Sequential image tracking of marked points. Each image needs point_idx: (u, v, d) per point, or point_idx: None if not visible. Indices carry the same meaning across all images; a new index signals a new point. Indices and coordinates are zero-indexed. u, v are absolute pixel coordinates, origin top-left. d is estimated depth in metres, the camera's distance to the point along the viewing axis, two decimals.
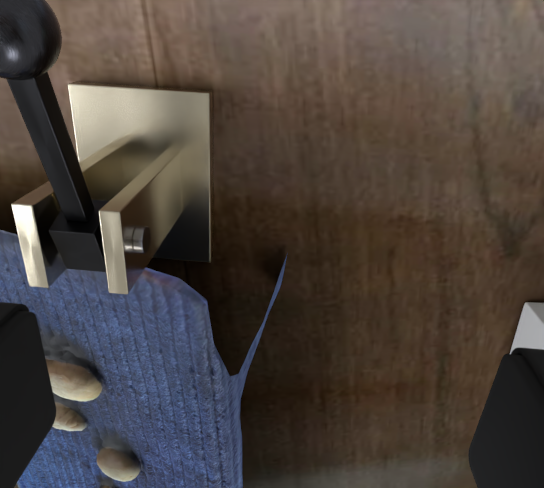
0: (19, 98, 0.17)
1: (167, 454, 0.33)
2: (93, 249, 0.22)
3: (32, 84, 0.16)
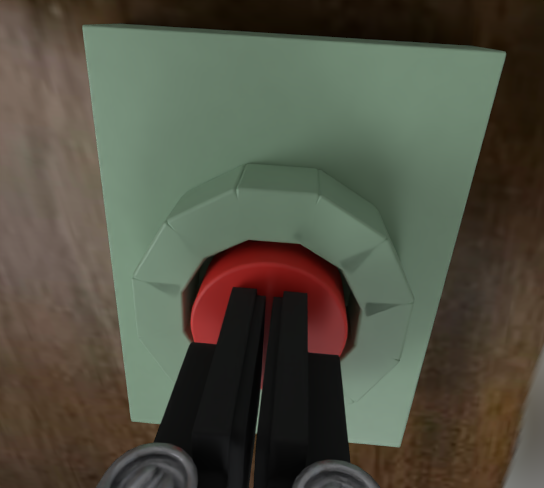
0: None
1: None
2: None
3: None
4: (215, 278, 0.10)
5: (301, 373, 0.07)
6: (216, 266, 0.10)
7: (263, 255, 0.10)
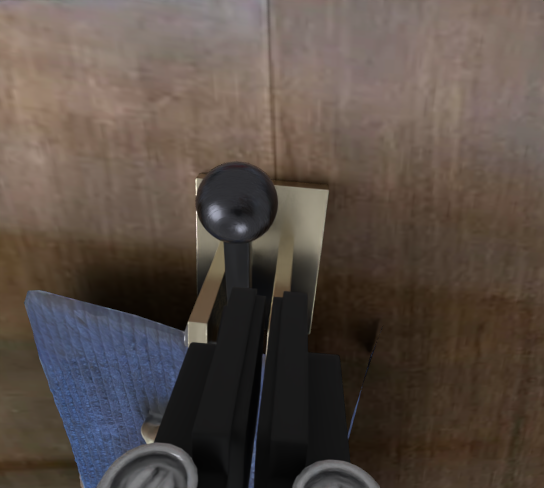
0: (228, 250, 0.19)
1: None
2: None
3: (245, 242, 0.18)
4: None
5: (301, 373, 0.07)
6: None
7: None
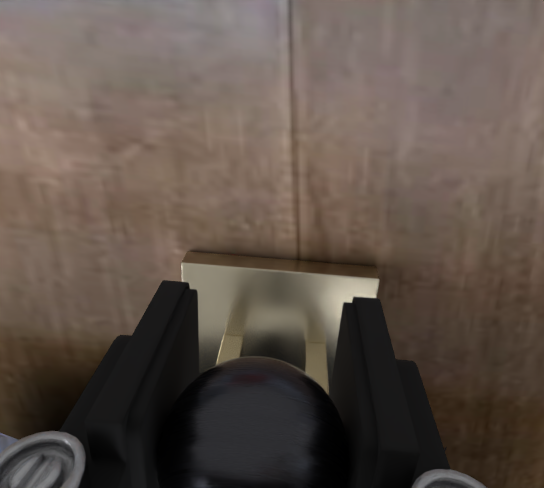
0: None
1: None
2: None
3: None
4: None
5: (395, 381, 0.07)
6: None
7: None
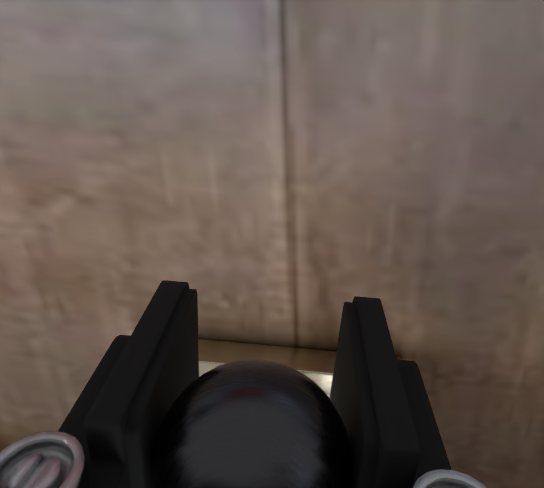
0: None
1: None
2: None
3: None
4: None
5: (396, 381, 0.07)
6: None
7: None
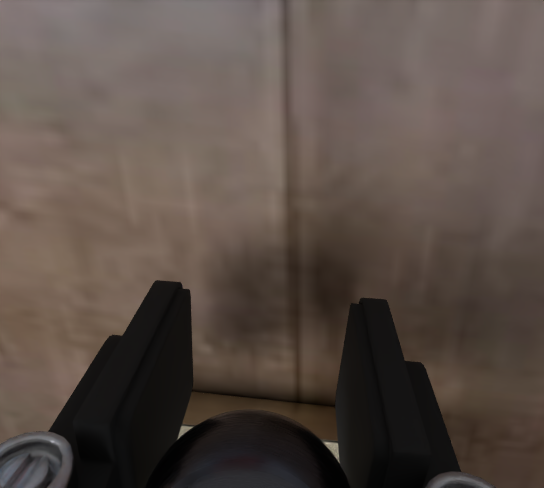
0: None
1: None
2: None
3: None
4: None
5: (405, 382, 0.07)
6: None
7: None
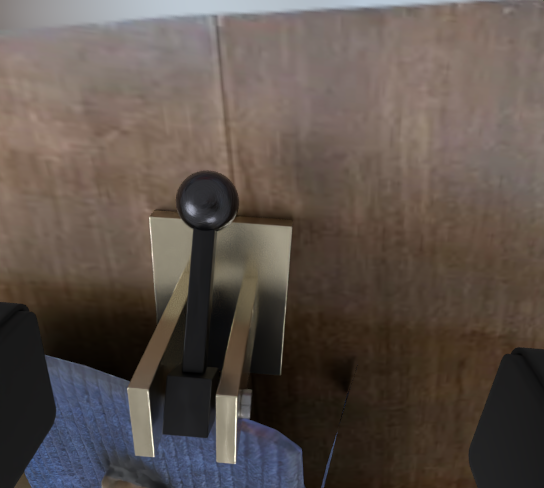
0: (195, 245, 0.22)
1: None
2: (204, 401, 0.21)
3: (210, 234, 0.22)
4: None
5: None
6: None
7: None
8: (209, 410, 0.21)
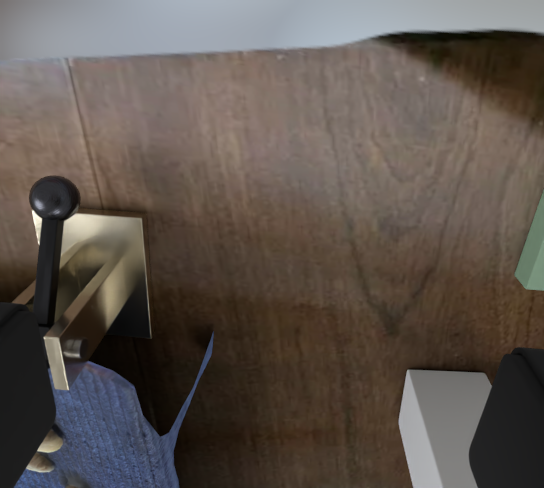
0: (43, 230, 0.30)
1: None
2: (43, 343, 0.29)
3: (54, 222, 0.30)
4: None
5: None
6: None
7: None
8: None
